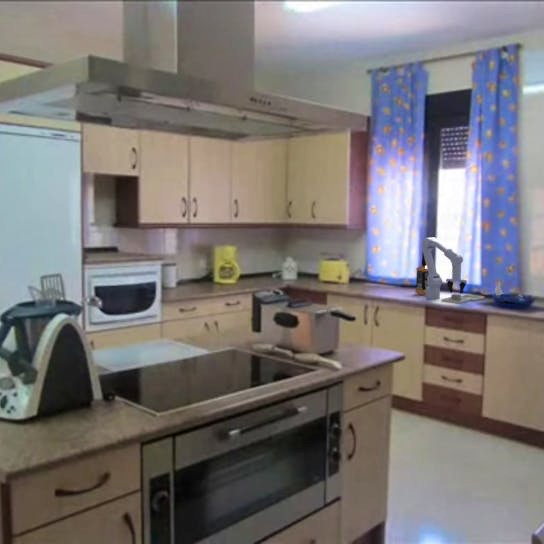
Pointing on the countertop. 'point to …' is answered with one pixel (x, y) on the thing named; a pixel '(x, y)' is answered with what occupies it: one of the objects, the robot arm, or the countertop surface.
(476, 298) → the tray
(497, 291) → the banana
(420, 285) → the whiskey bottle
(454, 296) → the stone
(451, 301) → the tray
